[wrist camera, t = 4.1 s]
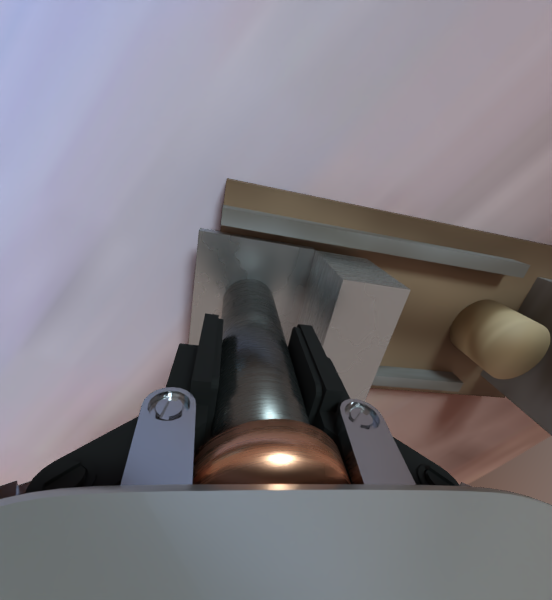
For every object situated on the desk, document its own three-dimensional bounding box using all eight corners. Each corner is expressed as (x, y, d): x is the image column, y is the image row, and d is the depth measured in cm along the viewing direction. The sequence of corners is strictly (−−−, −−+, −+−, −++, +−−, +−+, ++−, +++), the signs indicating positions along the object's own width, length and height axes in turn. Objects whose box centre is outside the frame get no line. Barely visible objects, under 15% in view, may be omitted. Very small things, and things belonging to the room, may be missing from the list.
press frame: (227, 178, 16) (221, 188, 9) (573, 249, 20) (742, 292, 13) (205, 361, 20) (189, 459, 13) (490, 384, 25) (584, 466, 18)
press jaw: (200, 228, 15) (114, 382, 4) (362, 255, 16) (584, 413, 6) (189, 344, 17) (120, 611, 7) (329, 357, 19) (442, 586, 9)
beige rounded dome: (465, 295, 19) (507, 319, 16) (515, 303, 20) (563, 326, 17) (440, 347, 20) (473, 376, 18) (487, 352, 21) (526, 381, 18)
